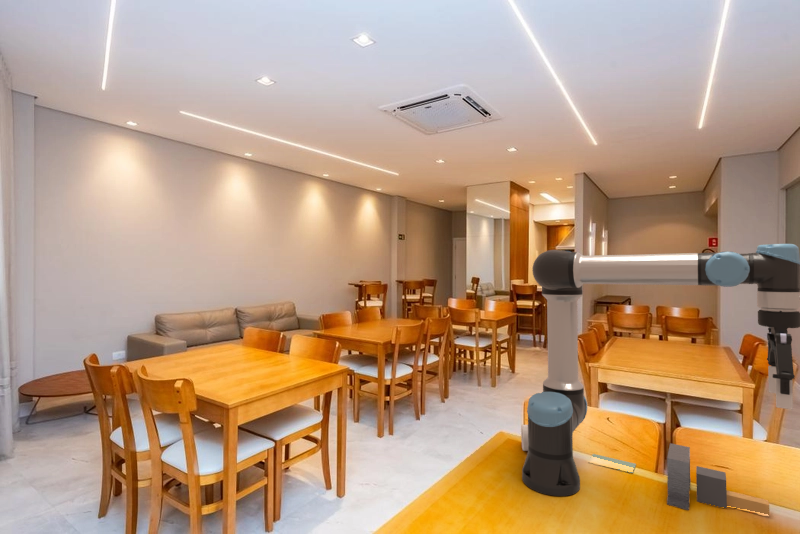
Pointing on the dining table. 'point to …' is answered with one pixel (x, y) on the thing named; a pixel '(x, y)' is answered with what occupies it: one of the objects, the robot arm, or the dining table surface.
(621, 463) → the pad
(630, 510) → the dining table surface
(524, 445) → the mug
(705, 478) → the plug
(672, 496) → the housing
